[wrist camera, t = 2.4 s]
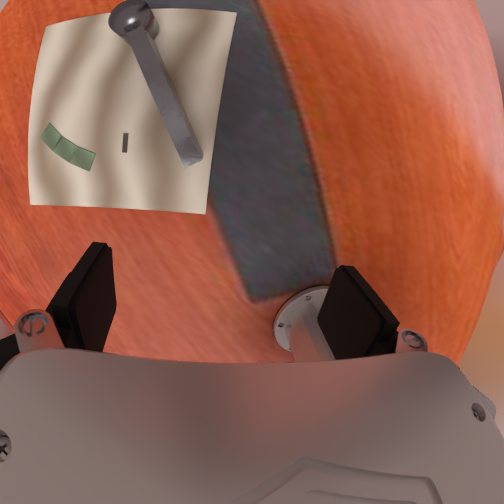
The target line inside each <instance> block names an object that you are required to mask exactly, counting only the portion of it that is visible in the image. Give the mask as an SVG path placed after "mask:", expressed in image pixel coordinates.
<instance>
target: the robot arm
mask: <svg viewBox="0 0 504 504" xmlns="http://www.w3.org/2000/svg"><path fill="white" fill-rule="evenodd" d="M115 311H116V295H115V285H114V274H113V261H112V249H111V247H108V245H107V243H100V242H93V243H92V244H91V245H90V246H89V248H88V249H87V251H86V252H85V253H84V255H83V256H82V257H81V259H80V260H79V262H78V263H77V265H76V266H75V267H74V269H73V270H72V272H70V273H69V274H68V276H67V277H66V278H65V280H64V281H63V283H62V285H61V286H60V288H59V289H58V291H57V292H56V294H55V295H54V297H53V299H52V300H51V302H50V304H49V305H48V307H47V308H46V310H45V311H44V310H41V309H33V310H29V311H26V312H24V313H23V314H21V315H20V316H19V317H18V319H17V320H16V322H15V325H14V331H15V334H13V335H10V336H8V337H6V338H4V339H1V340H0V504H504V439H503V436H502V434H501V432H500V430H499V429H498V427H497V425H496V423H495V421H494V418H495V414H496V408H495V405H494V403H493V402H492V401H491V400H490V399H489V398H488V397H486V396H485V395H484V394H483V393H481V392H480V391H479V390H477V389H476V388H475V387H474V386H472V385H471V383H470V382H469V381H468V379H467V378H466V376H465V375H464V374H463V373H462V371H461V370H460V368H459V367H458V366H456V364H455V363H454V362H453V361H452V360H451V359H449V358H448V357H445V356H443V355H440V354H436V353H432V352H428V346H427V342H426V340H425V338H424V337H423V336H422V335H421V334H420V333H418V332H417V331H415V330H412V329H409V328H403V329H401V330H400V331H399V332H397V330H396V329H397V327H398V326H399V324H400V323H399V321H398V320H397V319H396V318H395V316H394V315H393V314H392V312H391V311H390V310H389V309H388V307H387V306H386V305H385V304H384V302H383V301H382V300H381V299H380V297H379V296H378V295H377V294H376V292H375V291H374V290H373V289H372V288H371V286H370V285H369V284H368V283H367V282H366V280H365V279H364V278H363V277H362V276H361V274H360V273H359V272H358V271H357V270H356V269H355V267H353V266H345V265H341V266H340V267H339V268H337V269H336V270H335V272H334V275H333V278H332V280H331V283H330V286H317V287H313V288H309V289H306V290H304V291H302V292H300V293H298V294H296V295H295V296H293V297H292V298H290V299H289V300H288V301H287V302H286V303H285V304H284V305H283V306H282V307H281V309H280V310H279V312H278V313H277V315H276V318H275V321H274V327H273V330H274V335H275V338H276V341H277V342H278V344H279V345H280V346H281V347H282V348H283V349H285V350H287V351H289V352H292V355H293V358H294V361H295V362H291V363H212V362H191V361H177V360H164V359H154V358H144V357H136V356H128V355H121V354H113V353H105V352H102V351H103V348H104V345H105V342H106V338H107V335H108V332H109V329H110V326H111V323H112V320H113V317H114V314H115Z"/></svg>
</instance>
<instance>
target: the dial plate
mask: <svg viewBox="0 0 504 504" xmlns="http://www.w3.org/2000/svg"><path fill="white" fill-rule="evenodd" d="M151 11H152V13H153V15H154V16H155V18H156V20H157V22H158V24H159V32H158V35H157V36H156V38H155V39H154V42H155V44H156V46H157V48H158V51H159V53H160V55H161V58H162V60H163V62H164V64H165V67H166V69H167V71H168V74H169V76H170V78H171V80H172V83H173V85H174V87H175V90H176V92H177V94H178V96H179V99H180V101H181V103H182V105H183V108H184V110H185V112H186V115H187V117H188V119H189V121H190V124H191V126H192V128H193V130H194V133H195V135H196V137H197V139H198V142H199V144H200V146H201V149H202V151H203V153H204V155H203V159H202V161H200V162H197V163H195V164H193V165H191V166H189V167H186V168H185V167H184V165H183V163H182V161H181V159H180V156H179V154H178V152H177V150H176V148H175V146H174V143H173V141H172V139H171V137H170V135H169V132H168V130H167V128H166V126H165V123H164V121H163V119H162V117H161V114H160V112H159V110H158V108H157V105H156V103H155V101H154V99H153V96H152V94H151V92H150V89H149V87H148V85H147V83H146V80H145V78H144V76H143V73H142V71H141V69H140V66H139V64H138V62H137V59H136V57H135V54H134V52H133V50H132V47H131V45H129V44H128V43H127V42H126V41H124V40H123V39H122V38H121V37H120V36H119V35H117V34H116V33H115V32H114V31H113V30H111V28H110V27H109V24H108V19H109V16H110V14H111V13H105V14H98V15H92V16H87V17H82V18H77V19H73V20H68V21H64V22H60V23H56V24H53V25H49V26H46V29H45V33H44V36H43V40H42V44H41V48H40V52H39V57H38V62H37V67H36V72H35V78H34V84H33V91H32V98H31V107H30V119H29V136H28V177H29V194H30V205H62V206H88V207H109V208H127V209H143V210H158V211H172V212H185V213H197V214H205V213H206V203H207V194H208V186H209V177H210V169H211V161H212V153H213V146H214V139H215V132H216V125H217V118H218V112H219V105H220V99H221V93H222V87H223V81H224V76H225V70H226V65H227V59H228V54H229V49H230V44H231V39H232V34H233V29H234V24H235V20H236V15H237V13H234V12H225V11H215V10H202V9H151Z"/></svg>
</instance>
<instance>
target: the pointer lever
mask: <svg viewBox="0 0 504 504" xmlns="http://www.w3.org/2000/svg"><path fill="white" fill-rule="evenodd" d="M108 24H109V27H110V28H111V30H113V31H114V32H115V33H116V34H117V35H119V36H120V37H121V38H122V39H123V40H124V41H126V42H127V43H128V44H129V45H131V47H132V50H133V52H134V54H135V57H136V59H137V62H138V64H139V66H140V69H141V71H142V73H143V76H144V78H145V80H146V83H147V85H148V87H149V89H150V92H151V94H152V96H153V99H154V101H155V103H156V105H157V108H158V110H159V112H160V114H161V117H162V119H163V121H164V123H165V126H166V128H167V130H168V132H169V135H170V137H171V139H172V141H173V143H174V146H175V148H176V150H177V152H178V154H179V156H180V159H181V161H182V163H183V165H184V167H185V168H186V167H189V166H191V165H193V164H195V163H197V162H200V161H202V159H203V155H204V153H203V151H202V149H201V146H200V144H199V142H198V139H197V137H196V135H195V133H194V130H193V128H192V126H191V124H190V121H189V119H188V117H187V115H186V112H185V110H184V108H183V105H182V103H181V101H180V99H179V96H178V94H177V92H176V90H175V87H174V85H173V83H172V80H171V78H170V76H169V74H168V71H167V69H166V67H165V64H164V62H163V60H162V58H161V55H160V53H159V51H158V48H157V46H156V44H155V42H154V39H155V38H156V36H157V35H158V32H159V24H158V22H157V20H156V18H155V16H154V15H153V13H152V11H151V9H150V7H149V6H148V4H147V3H146V2H145V1H143V0H126V1H124V2H122V3H120V4H119V5H118V6H116V7H115V8H114V9H113V11H112V12H111V14H110V16H109V19H108Z"/></svg>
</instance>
